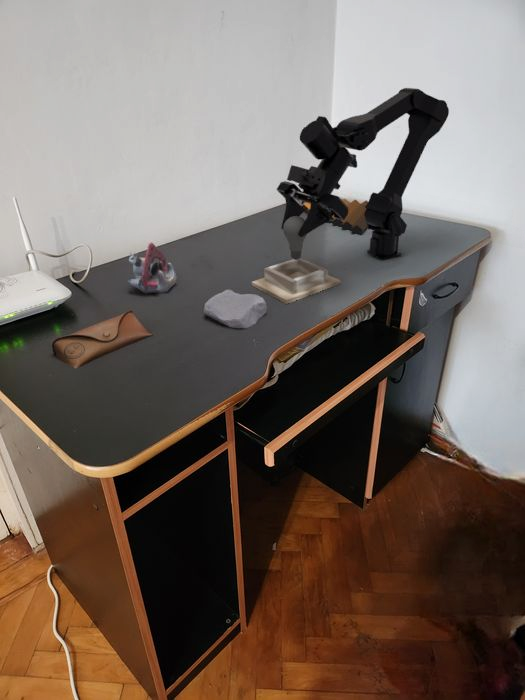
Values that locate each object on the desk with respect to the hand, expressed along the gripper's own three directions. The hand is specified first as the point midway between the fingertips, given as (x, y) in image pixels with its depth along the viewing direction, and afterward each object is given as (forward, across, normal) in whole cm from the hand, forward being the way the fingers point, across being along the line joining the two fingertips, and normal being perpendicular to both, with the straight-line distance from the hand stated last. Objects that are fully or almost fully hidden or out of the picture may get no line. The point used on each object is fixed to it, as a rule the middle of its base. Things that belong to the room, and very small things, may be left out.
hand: (291, 232), depth 118 cm
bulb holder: (+8, 0, +10) cm, 13 cm away
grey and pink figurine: (+27, -21, -8) cm, 35 cm away
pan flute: (-19, -31, +40) cm, 54 cm away
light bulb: (+4, 0, +6) cm, 7 cm away
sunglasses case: (+41, -3, -22) cm, 47 cm away
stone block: (+23, +4, -4) cm, 23 cm away
